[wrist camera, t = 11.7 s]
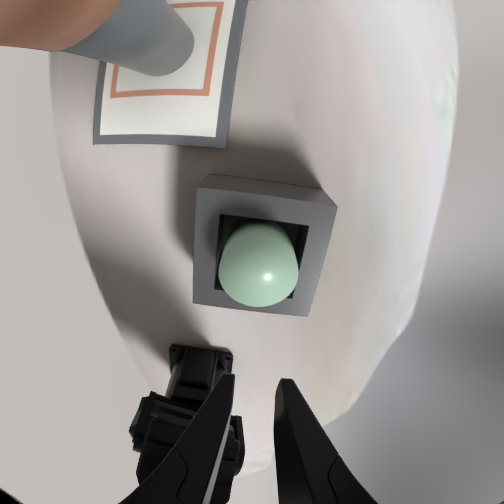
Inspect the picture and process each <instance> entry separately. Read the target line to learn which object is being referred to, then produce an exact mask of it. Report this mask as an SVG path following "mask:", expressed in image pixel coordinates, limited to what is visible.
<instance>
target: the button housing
mask: <svg viewBox="0 0 504 504" xmlns="http://www.w3.org/2000/svg"><path fill="white" fill-rule="evenodd" d="M336 212H337V205H336V204H335V203H334V202H333V201H332V199H331V198H330V197H329V196H328V195H327V194H326V193H325V191H324V190H321V189H316V188H310V187H304V186H298V185H291V184H285V183H278V182H271V181H264V180H256V179H248V178H240V177H231V176H222V175H212V174H209V175H208V176H207V177H206V178H205V179H204V180H203V181H202V182H201V184H200V185H199V186H198V187H197V192H196V209H195V229H194V256H193V303H195V304H202V305H209V306H216V307H223V308H231V309H239V310H247V311H256V312H265V313H274V314H284V315H295V316H306V317H308V314H309V311H310V308H311V304H312V301H313V298H314V294H315V291H316V288H317V284H318V281H319V277H320V274H321V270H322V267H323V263H324V259H325V255H326V252H327V248H328V244H329V240H330V236H331V232H332V228H333V224H334V220H335V216H336ZM251 219H265V220H271V221H273V222H276V223H277V224H279V225H281V226H282V227H283V228H284V229H285V230H286V231H287V233H288V234H289V236H290V238H291V240H292V244H293V248H294V252H295V256H296V261H297V265H298V280H297V283H296V286H295V288H294V289H293V291H292V292H291V293H290V294H289V295H288V296H287V297H286V298H285V299H283V300H282V301H280V302H278V303H276V304H273V305H270V306H264V307H253V306H248V305H244V304H242V303H239V302H237V301H235V300H234V299H233V298H231V297H230V296H229V295H228V294H227V293H226V292H225V290H224V289H223V287H222V285H221V283H220V280H219V265H220V261H221V258H222V254H223V250H224V247H225V243H226V240H227V237H228V235H229V234H230V232H231V231H232V230H233V229H234V228H235V227H236V226H237V225H239V224H240V223H242V222H244V221H247V220H251Z"/></svg>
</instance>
